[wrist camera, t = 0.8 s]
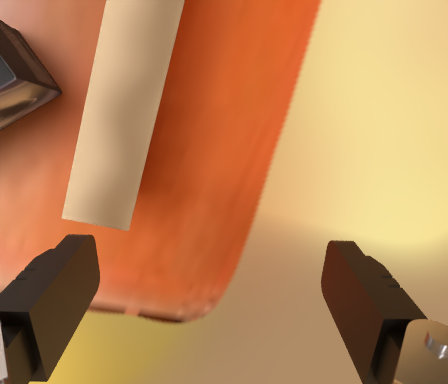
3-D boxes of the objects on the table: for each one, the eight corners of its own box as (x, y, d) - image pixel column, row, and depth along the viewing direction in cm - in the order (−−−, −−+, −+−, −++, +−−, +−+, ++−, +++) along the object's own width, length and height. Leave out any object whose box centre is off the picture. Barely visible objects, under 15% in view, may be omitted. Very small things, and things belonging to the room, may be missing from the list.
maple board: (96, 181, 30) (61, 218, 19) (149, -60, 27) (146, -195, 15) (137, 191, 31) (128, 231, 20) (194, -40, 28) (222, -153, 16)
